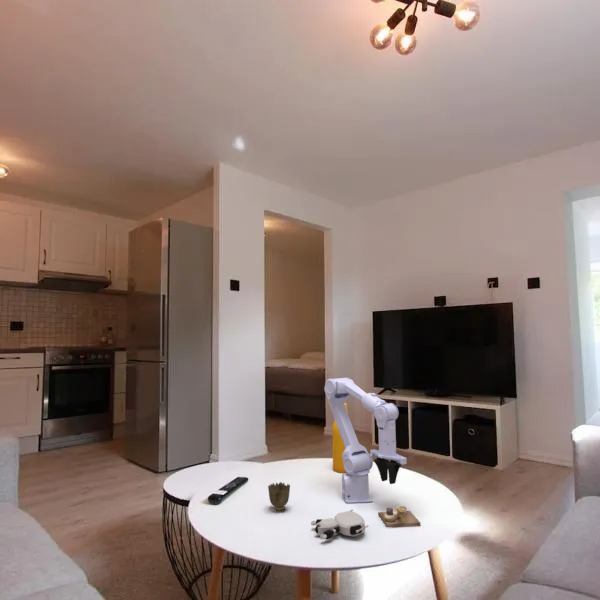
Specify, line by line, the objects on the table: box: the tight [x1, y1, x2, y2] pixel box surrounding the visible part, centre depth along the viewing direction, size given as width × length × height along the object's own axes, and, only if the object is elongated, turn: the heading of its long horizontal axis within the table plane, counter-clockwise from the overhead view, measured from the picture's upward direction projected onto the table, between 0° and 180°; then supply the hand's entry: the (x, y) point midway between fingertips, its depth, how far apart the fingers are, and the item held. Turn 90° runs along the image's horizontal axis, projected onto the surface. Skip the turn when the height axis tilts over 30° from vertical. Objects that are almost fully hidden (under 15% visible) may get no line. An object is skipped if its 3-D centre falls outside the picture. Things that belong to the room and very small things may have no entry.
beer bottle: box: [331, 402, 349, 474], centre depth 189 cm, size 9×9×29 cm
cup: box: [267, 481, 291, 512], centre depth 144 cm, size 8×7×8 cm
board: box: [377, 506, 421, 528], centre depth 134 cm, size 11×9×4 cm
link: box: [385, 505, 408, 522], centre depth 135 cm, size 10×3×2 cm, turn 135°
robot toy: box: [310, 509, 370, 540], centre depth 126 cm, size 12×4×15 cm
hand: (388, 482), depth 143 cm, fingers open, 3 cm apart
